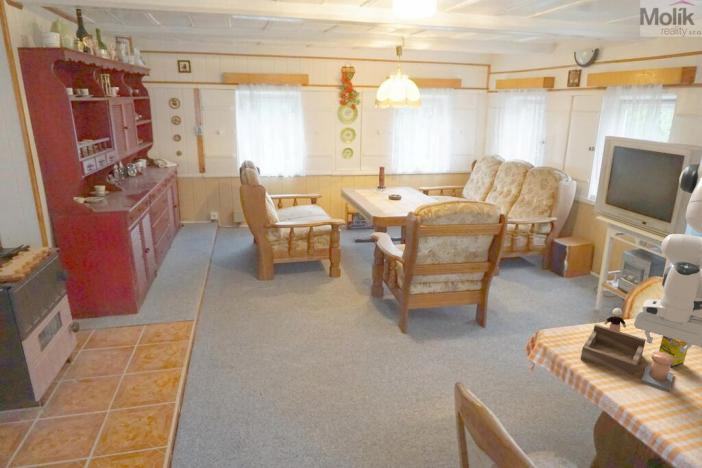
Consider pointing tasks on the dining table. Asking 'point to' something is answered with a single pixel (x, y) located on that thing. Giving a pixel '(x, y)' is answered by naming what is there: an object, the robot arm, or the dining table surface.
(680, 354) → the supplement box
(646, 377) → the slate mat
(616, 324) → the grandmother figurine
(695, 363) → the dining table surface
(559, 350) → the dining table surface
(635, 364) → the frame
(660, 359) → the peach drawer knob
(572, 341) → the dining table surface
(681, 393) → the dining table surface
